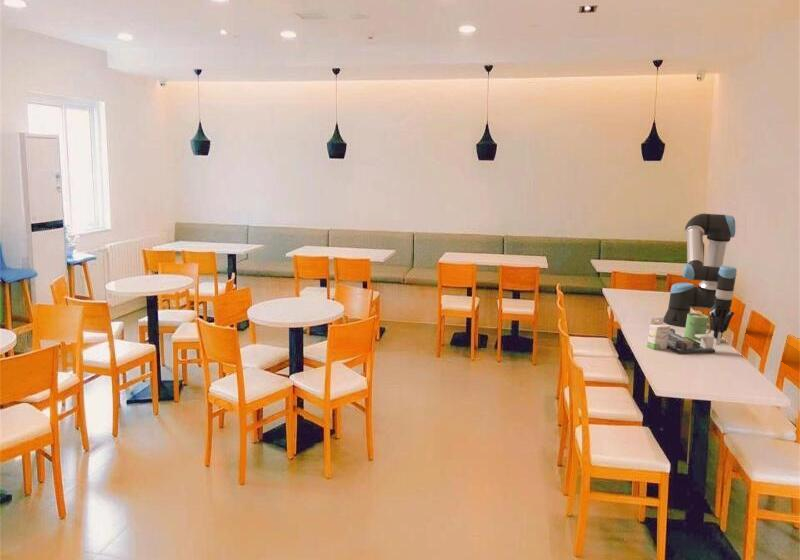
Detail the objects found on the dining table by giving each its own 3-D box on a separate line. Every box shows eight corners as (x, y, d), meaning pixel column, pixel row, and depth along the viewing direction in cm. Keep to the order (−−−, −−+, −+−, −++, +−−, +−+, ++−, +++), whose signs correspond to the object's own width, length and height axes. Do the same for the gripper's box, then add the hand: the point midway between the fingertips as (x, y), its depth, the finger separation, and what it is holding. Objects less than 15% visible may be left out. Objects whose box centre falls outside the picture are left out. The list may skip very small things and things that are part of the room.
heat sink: (679, 341, 317) (680, 336, 317) (689, 346, 309) (690, 340, 309) (665, 341, 315) (666, 336, 315) (675, 346, 308) (676, 341, 307)
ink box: (654, 349, 306) (658, 320, 303) (646, 346, 310) (650, 318, 307) (667, 348, 309) (671, 319, 306) (659, 345, 313) (663, 317, 310)
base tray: (685, 339, 326) (687, 327, 325) (714, 353, 305) (716, 340, 304) (651, 340, 322) (653, 328, 320) (678, 353, 301) (680, 341, 299)
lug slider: (706, 346, 310) (708, 334, 309) (712, 348, 306) (714, 336, 305) (692, 346, 308) (694, 334, 307) (698, 348, 304) (700, 336, 303)
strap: (669, 332, 321) (670, 330, 320) (693, 344, 303) (693, 342, 303) (665, 332, 320) (665, 331, 320) (688, 344, 302) (689, 342, 302)
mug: (684, 338, 328) (688, 316, 326) (683, 333, 338) (686, 312, 335) (711, 342, 324) (714, 319, 321) (709, 336, 333) (712, 315, 331)
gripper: (729, 296, 309) (722, 341, 313) (706, 296, 306) (699, 342, 310) (740, 299, 301) (733, 346, 306) (717, 300, 299) (710, 347, 303)
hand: (716, 344), depth 308 cm, fingers closed
